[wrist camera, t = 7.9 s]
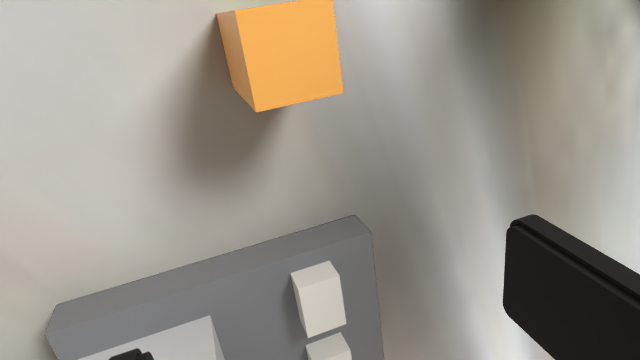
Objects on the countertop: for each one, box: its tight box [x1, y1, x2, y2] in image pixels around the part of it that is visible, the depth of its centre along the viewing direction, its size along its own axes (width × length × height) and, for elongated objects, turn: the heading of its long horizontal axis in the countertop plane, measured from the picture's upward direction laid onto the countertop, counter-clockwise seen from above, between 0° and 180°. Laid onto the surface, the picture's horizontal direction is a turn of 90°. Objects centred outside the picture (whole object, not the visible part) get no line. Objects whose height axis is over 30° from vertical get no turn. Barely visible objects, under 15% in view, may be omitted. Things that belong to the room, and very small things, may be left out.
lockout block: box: [216, 0, 344, 112], centre depth 22 cm, size 4×4×8 cm
